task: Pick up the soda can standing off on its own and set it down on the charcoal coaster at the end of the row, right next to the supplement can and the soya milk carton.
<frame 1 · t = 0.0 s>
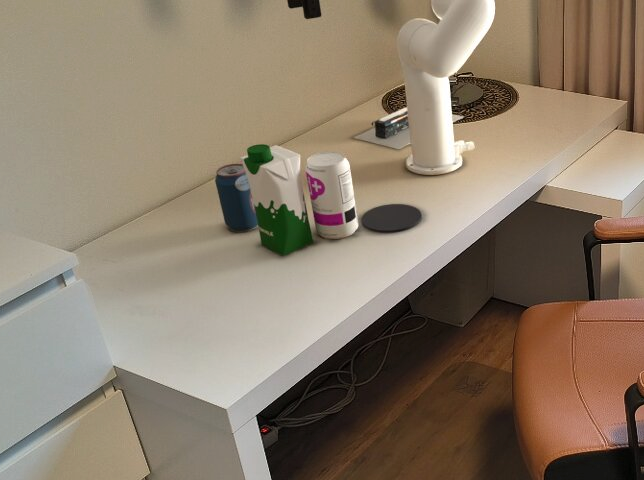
hand: (304, 12, 174), 37 cm above the table, tool pointing down, fingers open, 9 cm apart
soya milk: (288, 244, 174), on the table
supplement can: (337, 231, 178), on the table
white tray with gadget: (410, 127, 225), on the table
soda can: (244, 226, 181), on the table
coaster: (391, 219, 182), on the table
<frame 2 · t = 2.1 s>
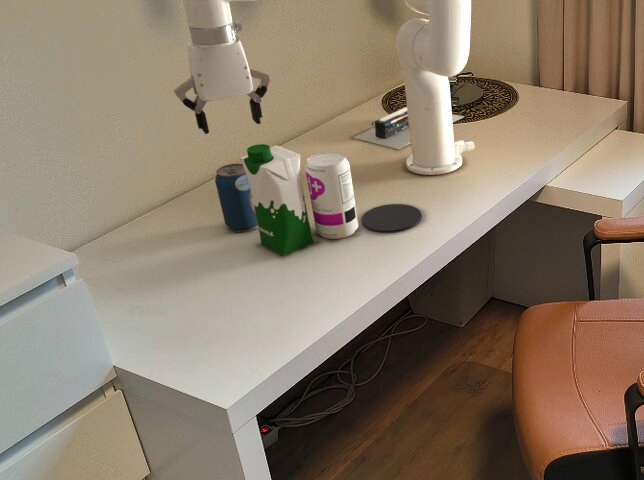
hand: (231, 126, 171), 20 cm above the table, tool pointing down, fingers open, 9 cm apart
nothing on the table moved.
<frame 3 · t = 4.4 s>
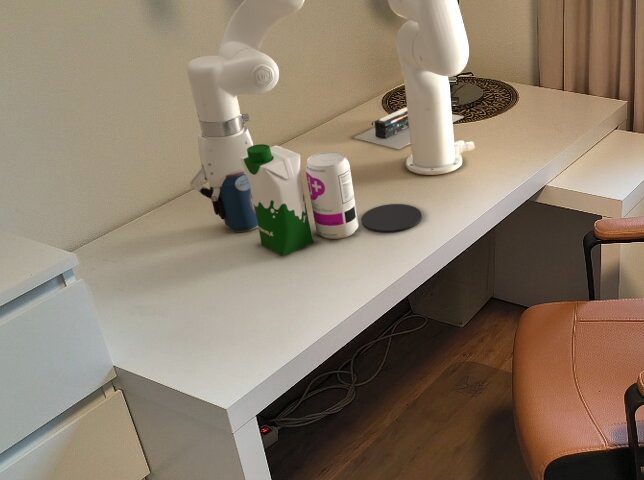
hand: (241, 211, 179), 3 cm above the table, tool pointing down, fingers closed on soda can, 7 cm apart
soda can: (244, 226, 181), on the table, touching gripper
everything else where it was.
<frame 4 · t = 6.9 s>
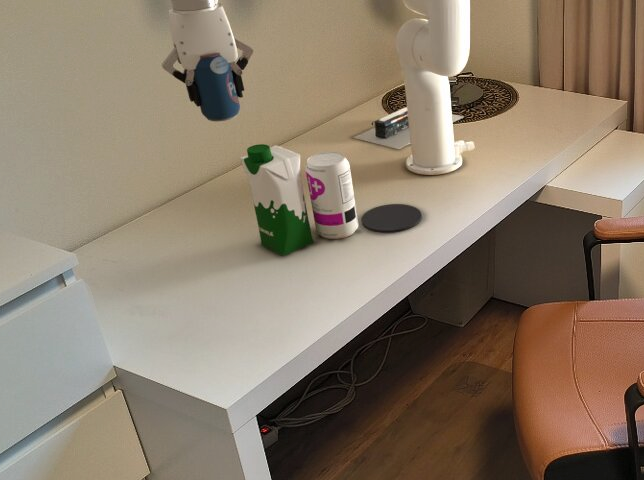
hand: (218, 99, 167), 26 cm above the table, tool pointing down, fingers closed on soda can, 7 cm apart
soda can: (222, 117, 169), point 22 cm above the table, touching gripper
everything else where it was.
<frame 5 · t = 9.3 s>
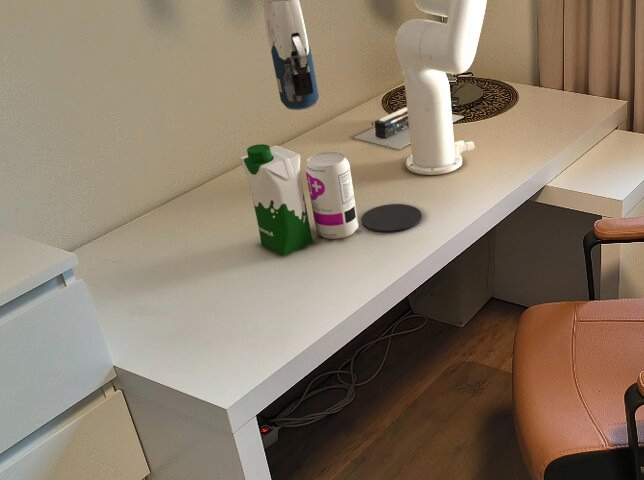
hand: (298, 87, 167), 27 cm above the table, tool pointing down, fingers closed on soda can, 7 cm apart
soda can: (301, 105, 168), point 24 cm above the table, touching gripper
everything else where it was.
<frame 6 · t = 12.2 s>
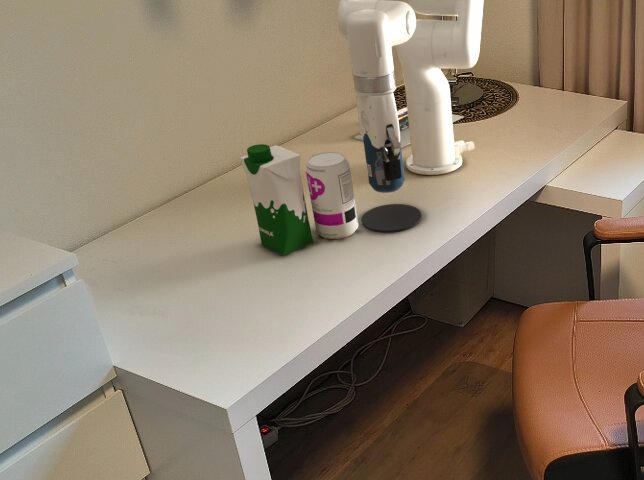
hand: (385, 171, 176), 10 cm above the table, tool pointing down, fingers closed on soda can, 7 cm apart
soda can: (387, 187, 178), point 7 cm above the table, touching gripper
everything else where it was.
when the fingers open (4 cm above the table, at t = 14.5 s): soda can stays where it is, resting on coaster.
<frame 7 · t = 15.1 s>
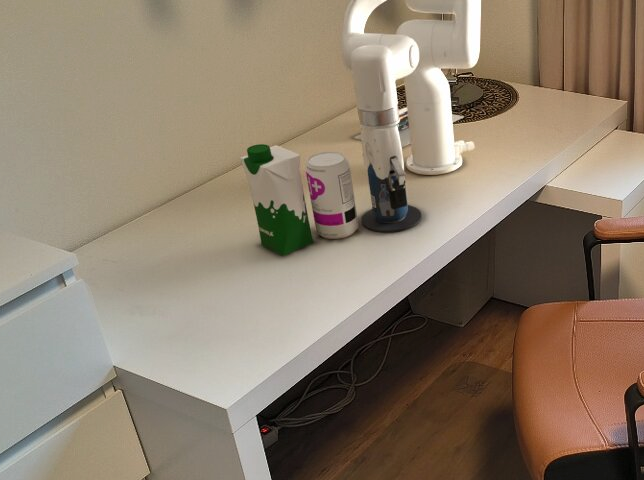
hand: (389, 198, 179), 5 cm above the table, tool pointing down, fingers open, 9 cm apart
soda can: (391, 217, 182), resting on coaster
everything else where it was.
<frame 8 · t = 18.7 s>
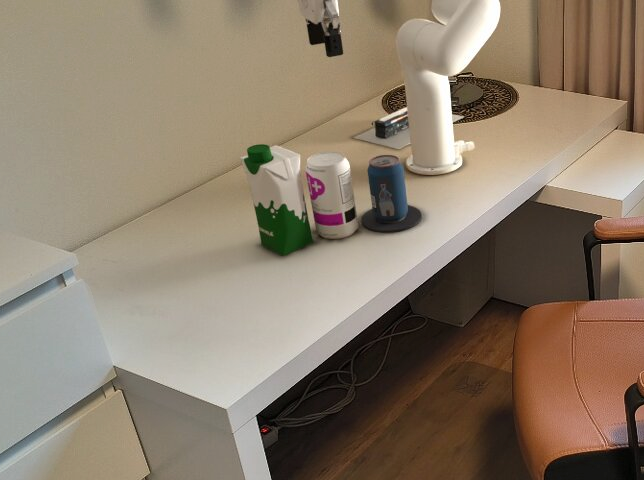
hand: (326, 49, 176), 30 cm above the table, tool pointing down, fingers open, 9 cm apart
nothing on the table moved.
at the end: soda can 0.1 cm off-centre on the coaster, point 0.3 cm above the coaster's base; soda can 11.0 cm from the supplement can (horizontally); soda can tilted 0° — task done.
